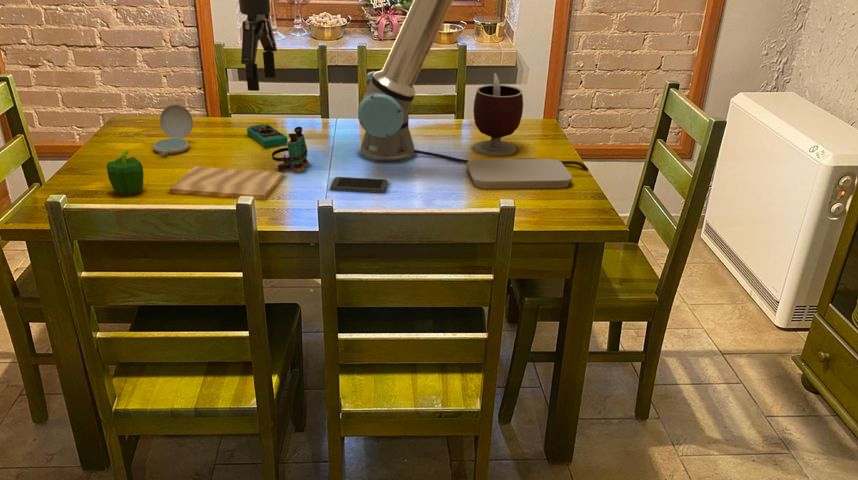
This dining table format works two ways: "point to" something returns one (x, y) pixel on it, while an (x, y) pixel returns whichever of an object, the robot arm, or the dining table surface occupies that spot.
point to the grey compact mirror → (174, 130)
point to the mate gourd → (497, 116)
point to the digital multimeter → (267, 135)
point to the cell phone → (359, 184)
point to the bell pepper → (126, 174)
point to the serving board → (227, 182)
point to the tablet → (518, 173)
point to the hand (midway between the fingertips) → (262, 83)
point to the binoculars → (294, 152)
